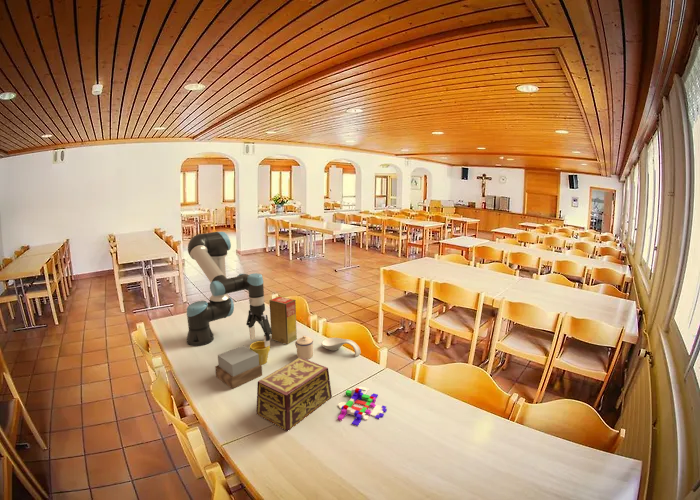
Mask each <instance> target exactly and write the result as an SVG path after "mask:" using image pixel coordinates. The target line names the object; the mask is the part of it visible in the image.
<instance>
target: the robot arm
mask: <svg viewBox="0 0 700 500" xmlns="http://www.w3.org/2000/svg"><path fill="white" fill-rule="evenodd" d="M188 241H189V242H188V245H187V252H188V254H189V257H190V258H191V259H192V260H194V261H195V262H196V263H197V264H198V266H199V268H200V270H202V272H203V274H204V275H205V276H206V278H207V279H208V281H209V282H210V284H209V290H210V292H211V293H210V294H211V296H210V297H209V301H206V300H198V301H193V302H192V303H191V304H189V305H187V307H186V318H187V326H188V328H187V329H188V331H187V336H186V344H187V346H190V347H201V346H205V345H207V344H211V343H212V342H213V341H214V339H215V338H214V336H215V335H214V333H213V331H212V329H211V326H210V323H211V322H214V321H218V320H222V319H226V318H228V317H230V316H232V315H233V313H234V309H235V303H234V300H233V298H232V297H230V295H229V294H231V293H235V292H241V291H244V290H246V291H248V302H249V310H248V314H247V320H246V326H247V327H248V329H249V340H254V339H256V328H255V323H258V324H259V325H260V327H261V330H262V331H263V333H264V334H263V341H264V343H265V347H268V346H270V347H271V342H270V341H271V334H272V330H271V323H270V322H269V317H268V315H267V314H264V312H265V311H266V306H265V303H266V302H265V291H264V289H265V288H264V287H265V286H264V278H263V275H262V273H255V272H254V273H250V274H247V273H240V274H238V275H237V276H234V277H229V278H227V273H226V271H227V270H226V256H227V255H228V251H230V250H231V248H232V242H231V239H230V237H229V235H228V234H227V233H226V232H225V231H214V232H207V233H206V232H205V233H204V232H203V233H198V234H196V235H194V236H193V237H191V238H190V240H188Z"/></svg>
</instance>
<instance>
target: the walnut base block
mask: <svg viewBox="0 0 700 500" xmlns="http://www.w3.org/2000/svg"><path fill="white" fill-rule="evenodd" d="M214 367H215V368H214V369H215V377H216V378H217V379H218V380H220V381H221V382H223V383H224V384H225V385H227V386H228V387H229V388H231V389H233V390H234V389H236V388H238V387H241V386H242V385H245V384H247V383H249V382H251V381H253V380H254V381H255V379H257V378H259V377H261V376H263V368H262V367H263V365H260V364H259V366H257V367H254V368H252V369H250V370H248V371H245V372H243V373H241V374H238V375H236V376H234V377H233V376H231V375H230V374H229V373H227V372H226V371H225V370H223V369H222V368H220V367H219V364H217V365H216V366H214Z"/></svg>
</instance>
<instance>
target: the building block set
mask: <svg viewBox="0 0 700 500" xmlns="http://www.w3.org/2000/svg"><path fill="white" fill-rule="evenodd" d="M362 391H363V392H362ZM369 391H370V388H368V387H364V386H361V385H359V386H358V387H354V388H351V389H350V390H349V389H347V390H345V396H346V395H347V397H350V399H349V400H348V401H347V402H346V401H342V402H341V401H340V402H339V403H338V404H337V407H338V406H339V407H338V409H339V410H340V411H341V413H340V414H339V415H338V416H337V420H338V421H340V420H341V421H340V422H342V421H343V420H344V419H345V418H346V416H347V415H348V414H350V415H349V416H351V415H352V416H354V417H355V418H354V419H353V421H352V422H351V425H352V424H353V426H355V425H356V427H358V426H359V425H360V424H361V422H362V420H364V421H368V420H369V419H370V418H369V417H370V416H371V415H372V416H371V417H374V416H375V417H374V418H375V419H376V418H377V420H380V419H379V418H384V416H385V413H386V412H387V411H388V410H387V406H386V405H379V404H376V400H377V398H378V397H379V394H378V393H371V394H370V395H369V394H368V392H369ZM364 400H365V401H364ZM354 403H355V404H356V403H357V404H356V405H359V404H360V405H359V406H363V405H364V406H363V407H359V406H355V404H354ZM372 407H373V408H372ZM368 408H369V409H368ZM370 408H372V410H370ZM365 413H366V414H365ZM346 414H347V415H346ZM367 414H369V415H367ZM345 415H346V416H345ZM361 418H363V419H361ZM342 419H343V420H342ZM359 423H360V424H359Z"/></svg>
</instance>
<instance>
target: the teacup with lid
mask: <svg viewBox="0 0 700 500" xmlns="http://www.w3.org/2000/svg"><path fill="white" fill-rule="evenodd" d="M294 344H295V347H296V356H297V359H298V358H300V357H301V358H304V359H306V360H310V359H311V358H313V356H314V346H313V345H314V339H313V338H311V337H309V336H307V335H302V337H299V338H297V339H296V340H295V342H294Z"/></svg>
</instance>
